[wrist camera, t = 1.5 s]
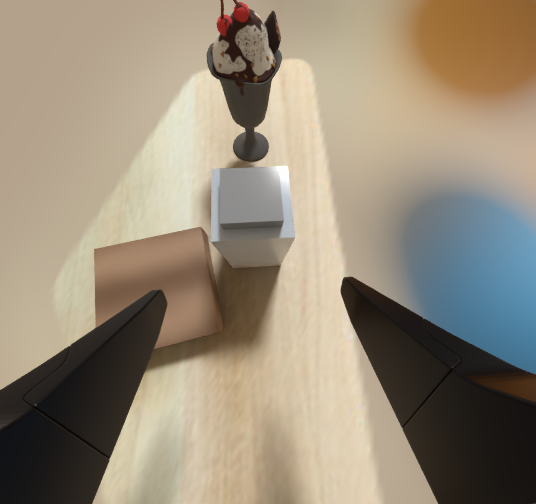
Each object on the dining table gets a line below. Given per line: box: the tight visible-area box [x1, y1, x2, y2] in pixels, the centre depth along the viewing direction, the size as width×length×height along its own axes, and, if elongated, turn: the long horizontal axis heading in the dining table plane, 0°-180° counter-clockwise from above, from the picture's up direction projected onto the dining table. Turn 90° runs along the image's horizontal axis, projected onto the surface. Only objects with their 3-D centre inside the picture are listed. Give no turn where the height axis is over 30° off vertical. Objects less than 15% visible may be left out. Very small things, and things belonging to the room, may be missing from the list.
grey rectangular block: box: [211, 166, 295, 268], centre depth 18 cm, size 6×6×11 cm
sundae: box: [207, 0, 282, 161], centre depth 19 cm, size 7×7×15 cm
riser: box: [94, 227, 224, 349], centre depth 20 cm, size 11×11×3 cm
